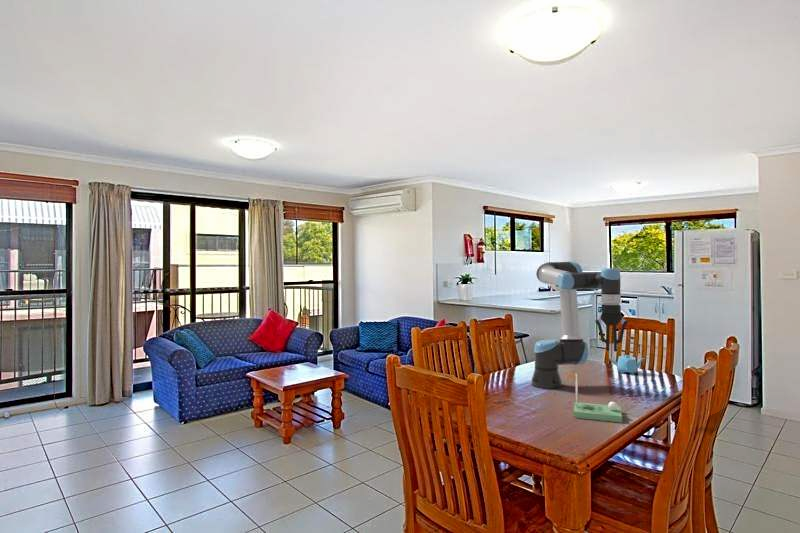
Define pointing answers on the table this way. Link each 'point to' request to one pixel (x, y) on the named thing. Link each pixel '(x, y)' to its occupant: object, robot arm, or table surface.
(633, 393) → the table surface
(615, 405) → the ball
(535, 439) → the table surface
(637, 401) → the table surface
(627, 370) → the teapot
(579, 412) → the green
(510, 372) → the table surface
